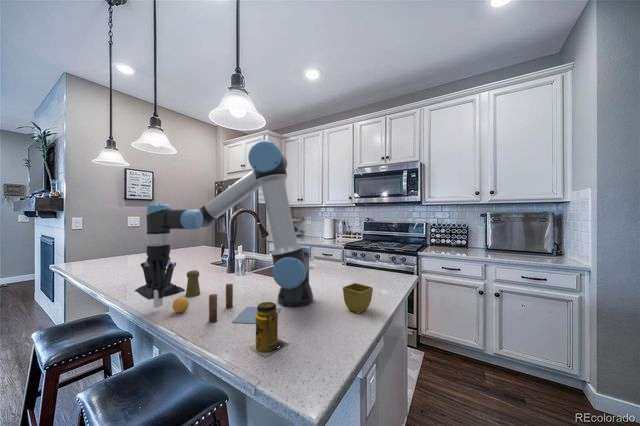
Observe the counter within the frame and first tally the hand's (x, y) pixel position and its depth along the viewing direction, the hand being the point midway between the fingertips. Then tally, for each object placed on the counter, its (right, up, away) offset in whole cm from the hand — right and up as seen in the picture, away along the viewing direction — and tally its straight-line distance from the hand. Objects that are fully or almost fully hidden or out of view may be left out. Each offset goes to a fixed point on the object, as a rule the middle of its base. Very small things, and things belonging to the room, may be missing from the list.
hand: (158, 306), depth 93 cm
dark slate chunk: (-15, -3, +24) cm, 28 cm away
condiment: (+47, -3, -24) cm, 53 cm away
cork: (+4, -2, +19) cm, 19 cm away
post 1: (+24, -2, -8) cm, 26 cm away
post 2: (+25, -2, +4) cm, 26 cm away
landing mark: (+39, -2, -3) cm, 39 cm away
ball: (+9, +1, -1) cm, 9 cm away
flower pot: (+76, -3, +2) cm, 76 cm away
